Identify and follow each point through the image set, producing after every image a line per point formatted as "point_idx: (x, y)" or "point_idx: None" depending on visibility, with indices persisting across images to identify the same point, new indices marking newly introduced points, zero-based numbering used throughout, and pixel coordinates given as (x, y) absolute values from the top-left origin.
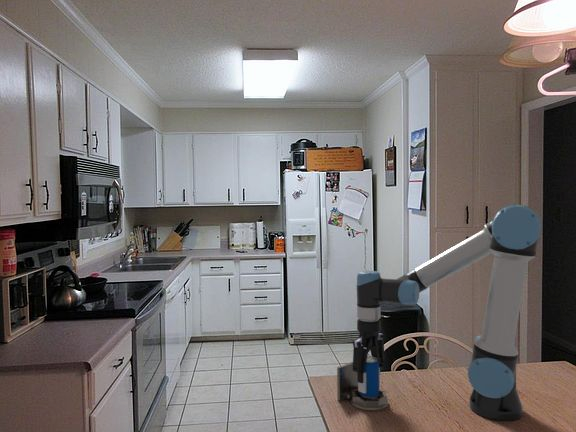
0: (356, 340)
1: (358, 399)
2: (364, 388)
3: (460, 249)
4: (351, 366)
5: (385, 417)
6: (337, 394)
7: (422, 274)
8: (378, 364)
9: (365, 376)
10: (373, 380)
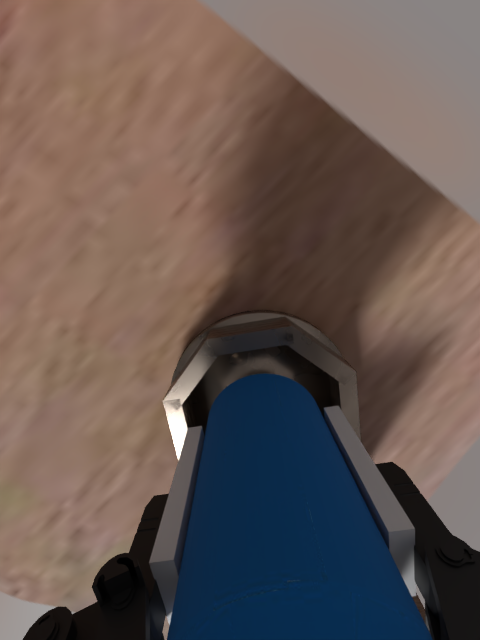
0: None
1: (357, 404)
2: (351, 427)
3: None
4: None
5: (308, 239)
6: None
7: None
8: (230, 596)
9: (383, 497)
10: (303, 438)
